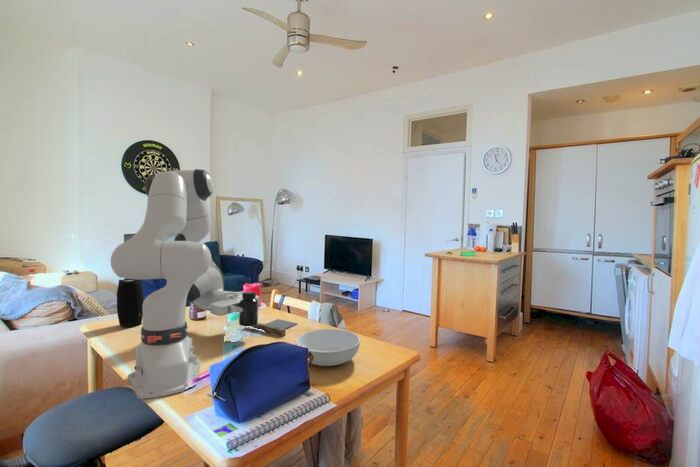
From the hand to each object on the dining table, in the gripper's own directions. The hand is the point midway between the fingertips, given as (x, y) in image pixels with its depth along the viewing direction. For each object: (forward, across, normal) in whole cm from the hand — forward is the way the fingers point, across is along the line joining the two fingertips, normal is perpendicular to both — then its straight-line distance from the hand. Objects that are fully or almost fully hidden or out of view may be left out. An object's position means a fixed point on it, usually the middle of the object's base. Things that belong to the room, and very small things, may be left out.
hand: (250, 307), depth 129 cm
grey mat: (-1, +17, +12) cm, 21 cm away
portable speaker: (-54, -15, +12) cm, 57 cm away
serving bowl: (+35, 0, +12) cm, 37 cm away
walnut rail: (-1, +9, +12) cm, 15 cm away
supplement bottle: (-1, 0, +7) cm, 7 cm away
